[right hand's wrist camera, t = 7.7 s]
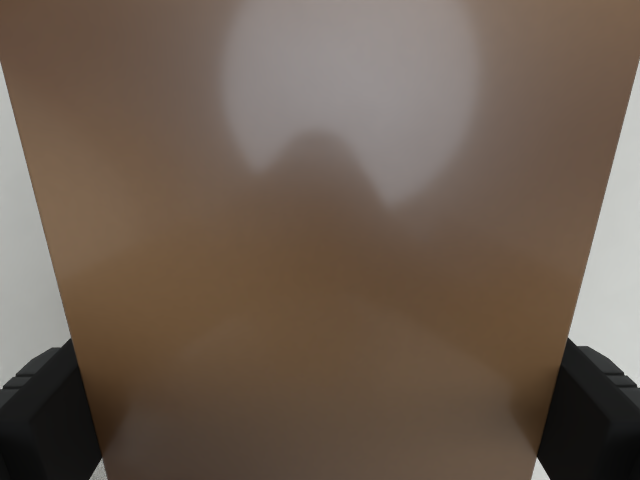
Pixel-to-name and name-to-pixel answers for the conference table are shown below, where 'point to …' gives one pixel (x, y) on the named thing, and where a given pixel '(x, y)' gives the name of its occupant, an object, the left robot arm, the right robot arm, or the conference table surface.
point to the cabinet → (319, 222)
